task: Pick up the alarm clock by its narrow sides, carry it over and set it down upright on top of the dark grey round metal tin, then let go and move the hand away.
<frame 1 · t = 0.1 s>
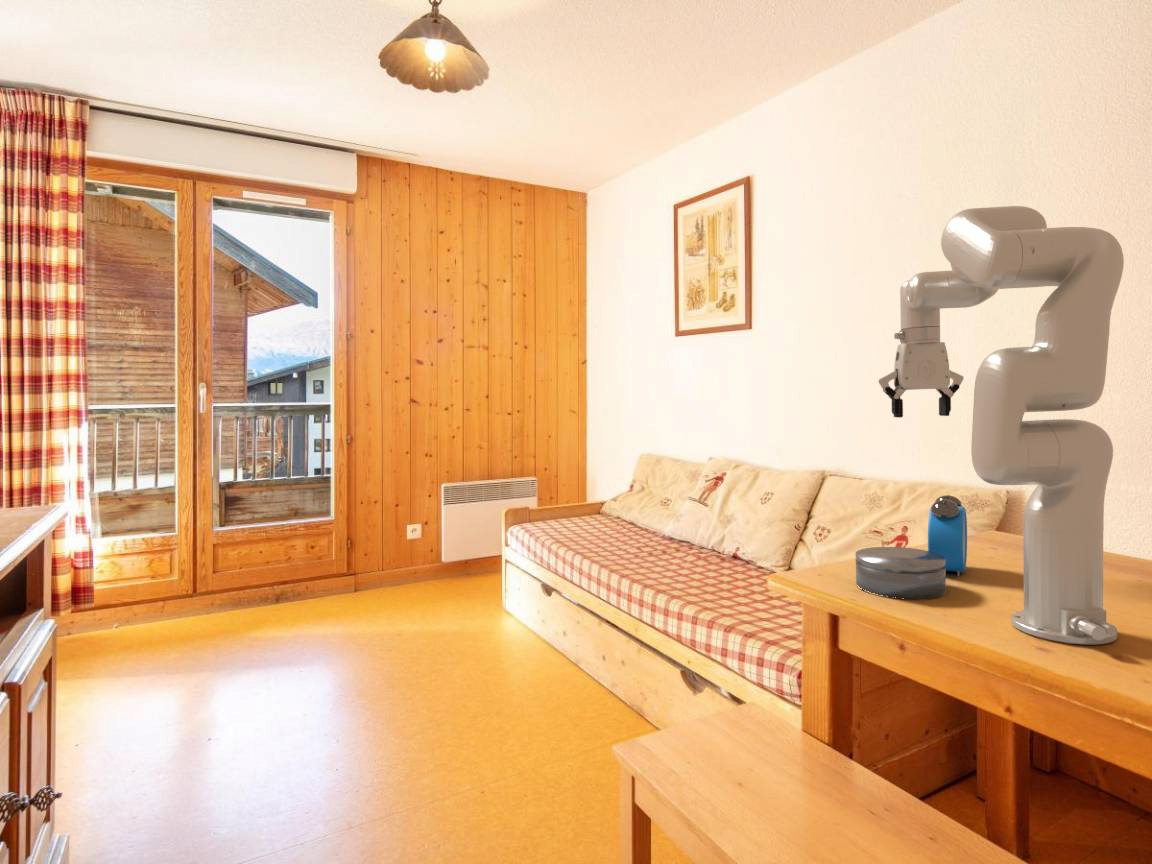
hand: (921, 416, 140), 31 cm above the table, tool pointing down, fingers open, 9 cm apart
round tin: (899, 587, 120), on the table
alarm clock: (947, 571, 130), on the table
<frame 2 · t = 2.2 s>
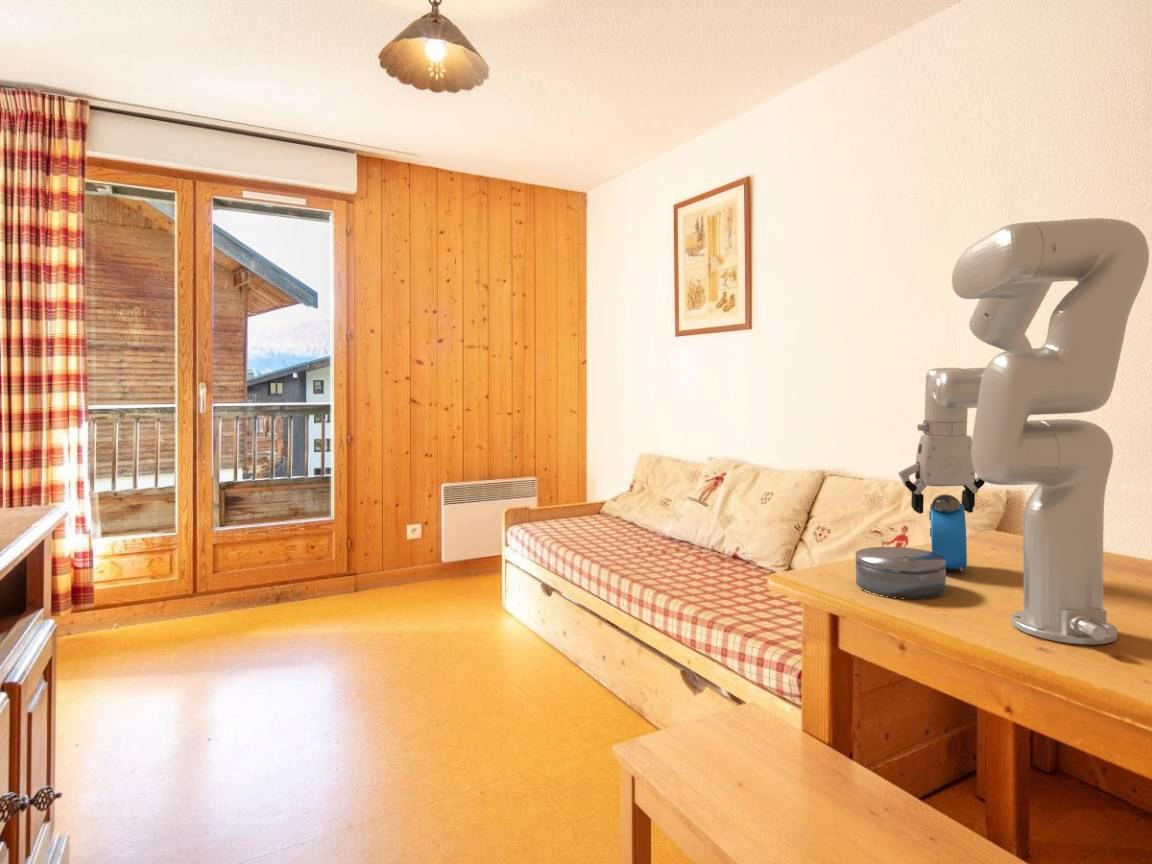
hand: (942, 511, 133), 12 cm above the table, tool pointing down, fingers open, 9 cm apart
alarm clock: (948, 569, 130), on the table, touching gripper
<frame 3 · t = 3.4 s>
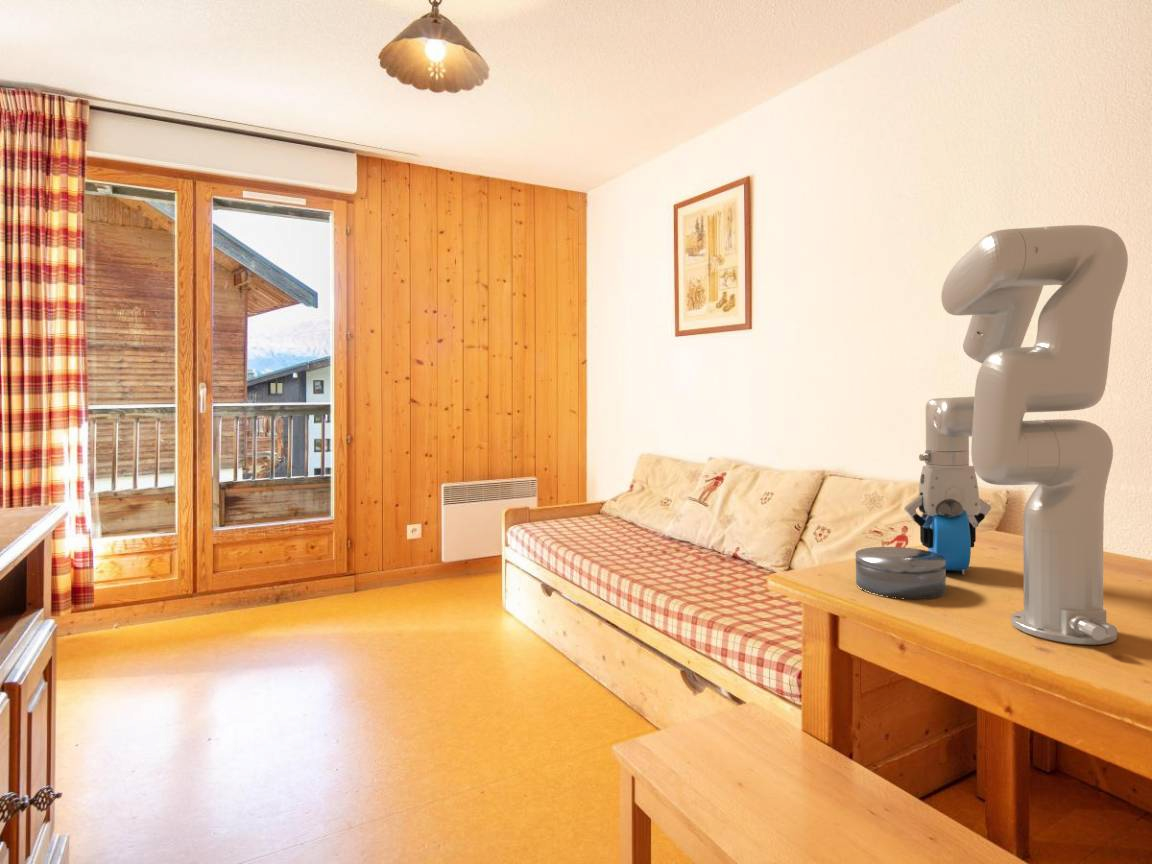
hand: (947, 545, 130), 5 cm above the table, tool pointing down, fingers closed on alarm clock, 7 cm apart
alarm clock: (947, 571, 131), on the table, touching gripper
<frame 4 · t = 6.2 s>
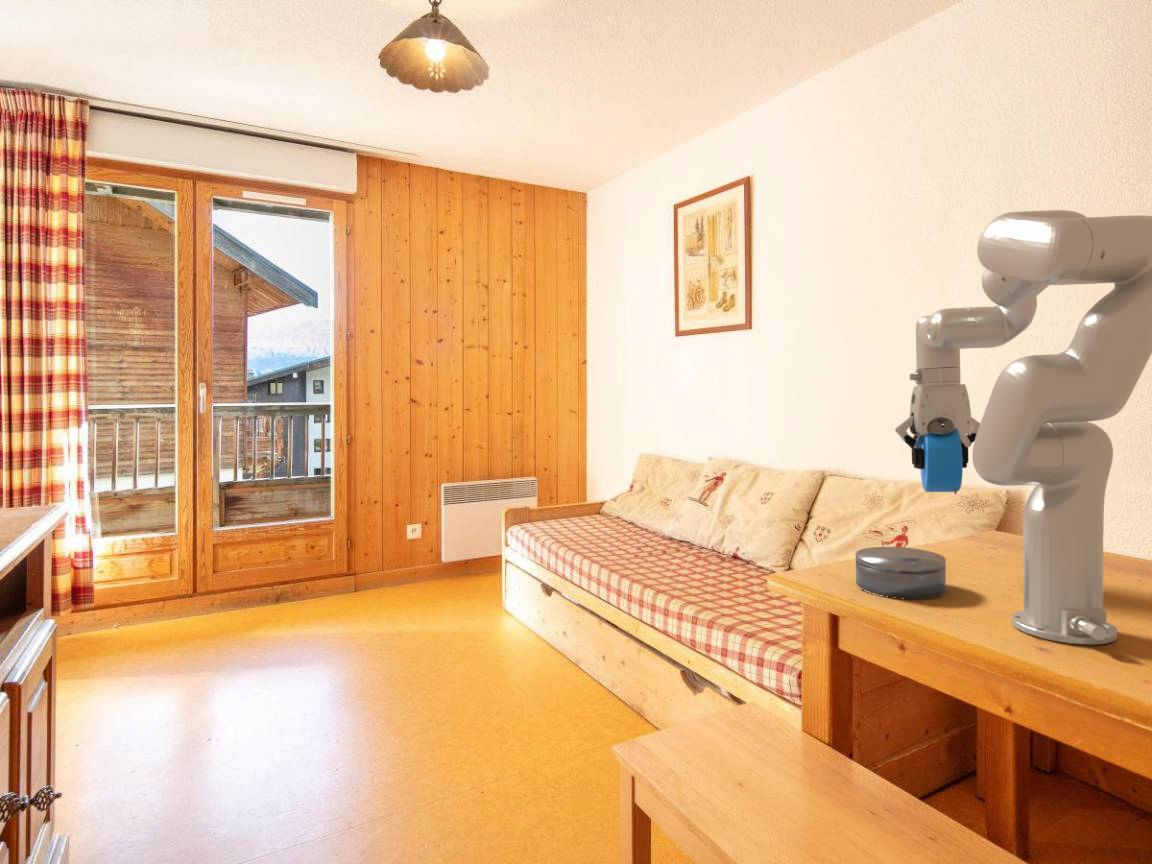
hand: (940, 467, 127), 21 cm above the table, tool pointing down, fingers closed on alarm clock, 7 cm apart
alarm clock: (940, 493, 128), point 16 cm above the table, touching gripper
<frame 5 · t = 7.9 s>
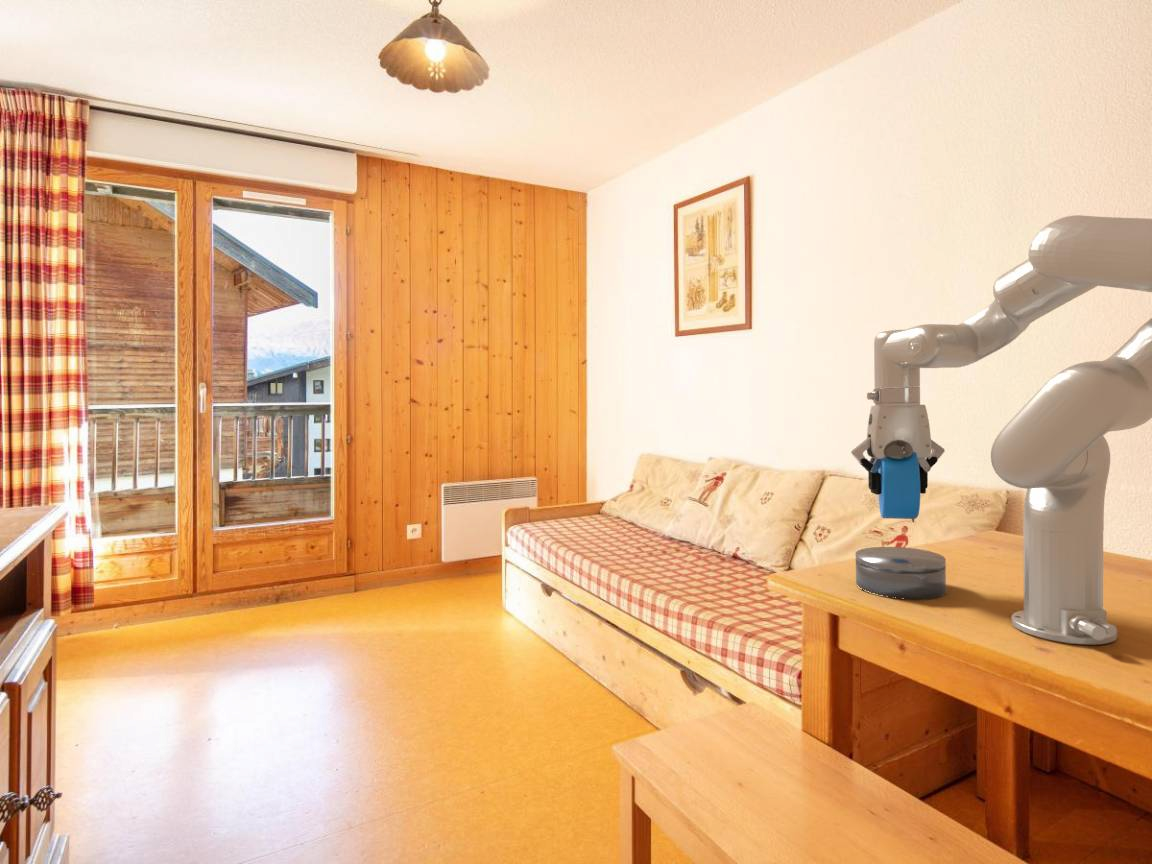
hand: (897, 492, 120), 18 cm above the table, tool pointing down, fingers closed on alarm clock, 7 cm apart
alarm clock: (898, 520, 120), point 13 cm above the table, touching gripper
when the fingers open (12 cm above the table, at t = 9.4 s): alarm clock drops 1 cm, resting on round tin.
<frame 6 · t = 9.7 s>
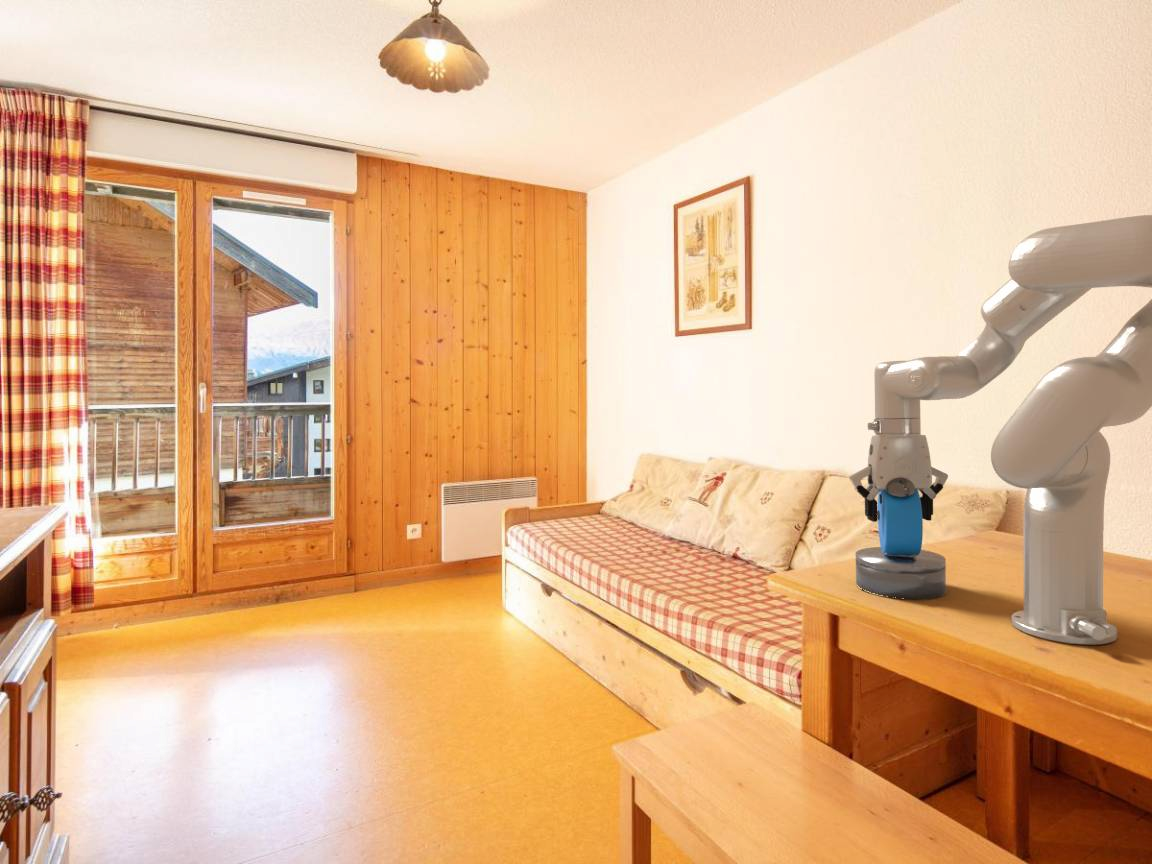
hand: (898, 519, 120), 13 cm above the table, tool pointing down, fingers open, 9 cm apart
alarm clock: (899, 556, 120), point 6 cm above the table, touching round tin
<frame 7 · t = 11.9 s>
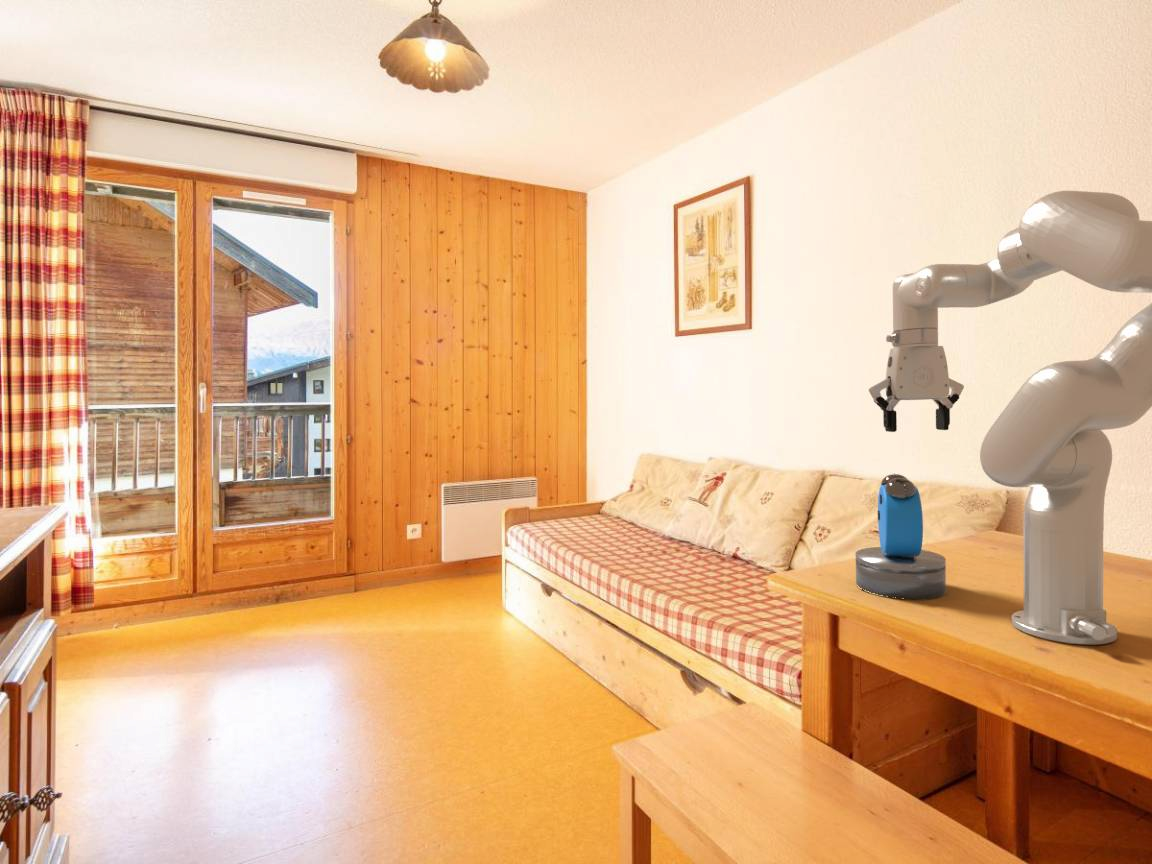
hand: (916, 430, 123), 29 cm above the table, tool pointing down, fingers open, 9 cm apart
nothing on the table moved.
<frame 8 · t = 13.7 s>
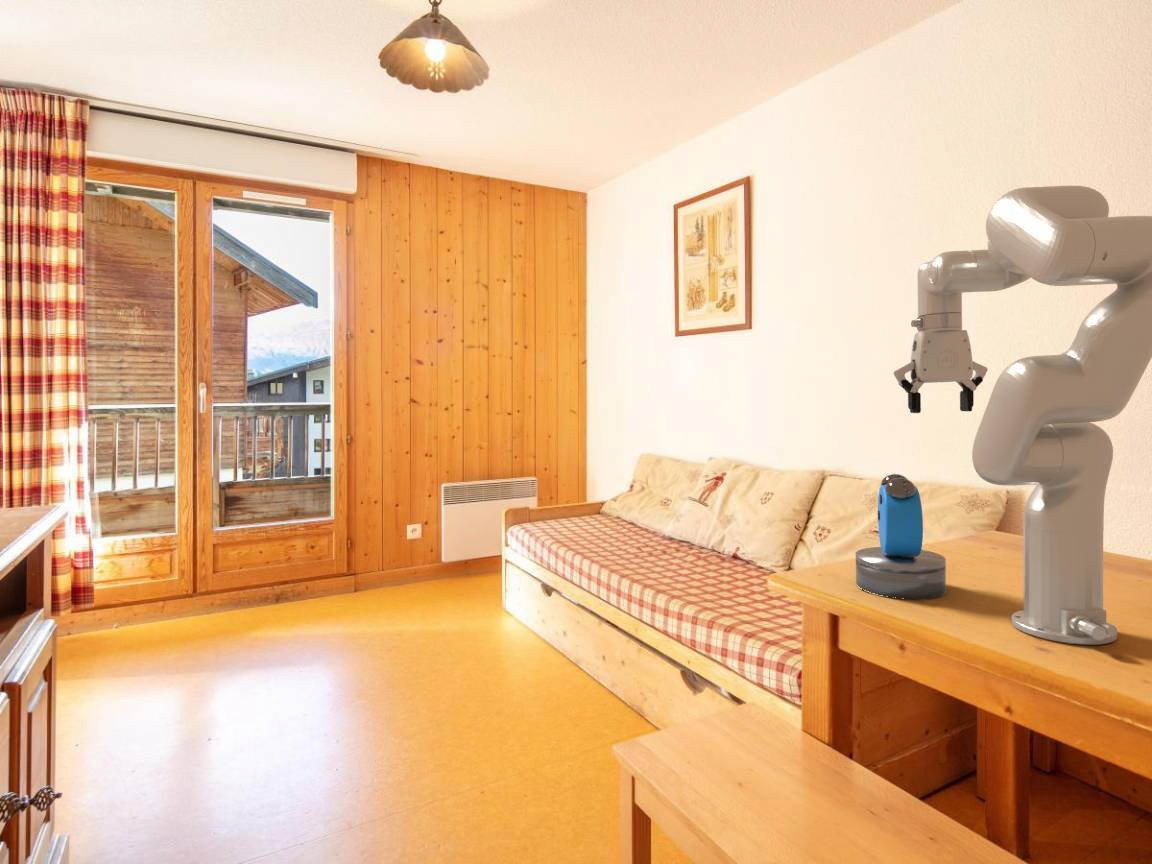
hand: (940, 412, 127), 32 cm above the table, tool pointing down, fingers open, 9 cm apart
nothing on the table moved.
at the end: alarm clock inside the target area on the round tin (0.1 cm from its centre), point 5.8 cm above the round tin's base; alarm clock tilted 0°; the gripper is holding nothing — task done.
